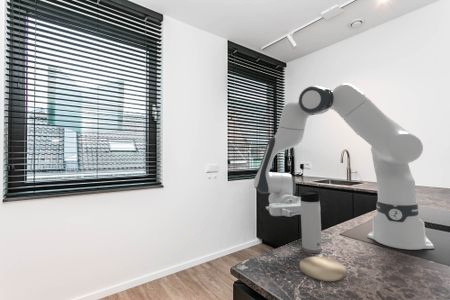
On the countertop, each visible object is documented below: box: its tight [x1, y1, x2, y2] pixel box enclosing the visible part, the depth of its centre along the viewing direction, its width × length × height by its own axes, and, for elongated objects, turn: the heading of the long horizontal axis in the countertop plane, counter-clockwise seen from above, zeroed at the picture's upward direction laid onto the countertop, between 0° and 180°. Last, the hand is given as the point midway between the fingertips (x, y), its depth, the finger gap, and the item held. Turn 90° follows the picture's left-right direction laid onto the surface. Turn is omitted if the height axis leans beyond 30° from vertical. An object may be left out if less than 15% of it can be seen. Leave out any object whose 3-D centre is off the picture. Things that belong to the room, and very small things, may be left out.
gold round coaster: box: [299, 256, 347, 282], centre depth 65 cm, size 12×12×1 cm
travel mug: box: [299, 190, 323, 254], centre depth 79 cm, size 6×7×20 cm
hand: (302, 213), depth 85 cm, fingers open, 8 cm apart
